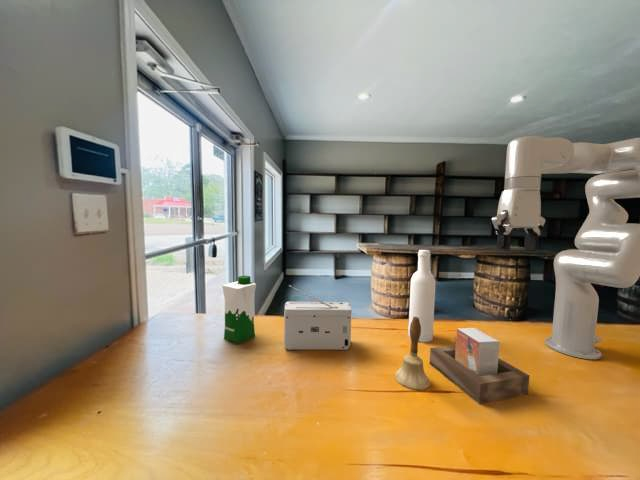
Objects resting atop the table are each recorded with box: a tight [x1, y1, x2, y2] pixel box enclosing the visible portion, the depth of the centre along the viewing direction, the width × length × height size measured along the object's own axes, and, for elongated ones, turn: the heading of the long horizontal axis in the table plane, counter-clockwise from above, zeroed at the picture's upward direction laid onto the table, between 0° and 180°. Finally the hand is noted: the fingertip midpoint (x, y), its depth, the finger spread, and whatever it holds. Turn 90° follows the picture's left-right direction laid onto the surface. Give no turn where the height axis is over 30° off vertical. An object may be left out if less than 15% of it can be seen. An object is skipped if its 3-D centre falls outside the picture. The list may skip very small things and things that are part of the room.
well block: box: [429, 344, 530, 405], centre depth 64 cm, size 14×16×4 cm
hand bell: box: [394, 317, 431, 391], centre depth 63 cm, size 8×8×16 cm
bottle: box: [407, 249, 436, 343], centre depth 86 cm, size 8×8×30 cm
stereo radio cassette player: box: [283, 284, 352, 351], centre depth 79 cm, size 21×8×20 cm, turn 92°
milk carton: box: [222, 275, 257, 345], centre depth 83 cm, size 9×9×20 cm
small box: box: [455, 327, 501, 376], centre depth 64 cm, size 8×6×10 cm
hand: (517, 249), depth 69 cm, fingers open, 9 cm apart
